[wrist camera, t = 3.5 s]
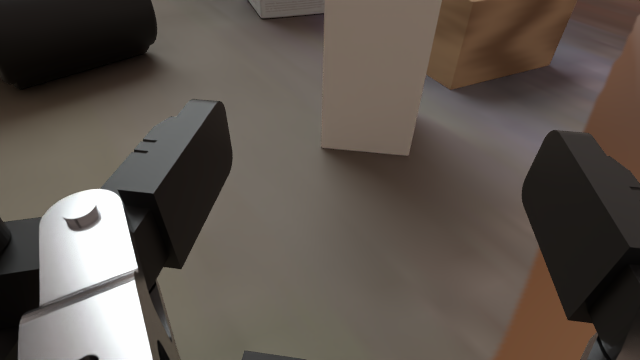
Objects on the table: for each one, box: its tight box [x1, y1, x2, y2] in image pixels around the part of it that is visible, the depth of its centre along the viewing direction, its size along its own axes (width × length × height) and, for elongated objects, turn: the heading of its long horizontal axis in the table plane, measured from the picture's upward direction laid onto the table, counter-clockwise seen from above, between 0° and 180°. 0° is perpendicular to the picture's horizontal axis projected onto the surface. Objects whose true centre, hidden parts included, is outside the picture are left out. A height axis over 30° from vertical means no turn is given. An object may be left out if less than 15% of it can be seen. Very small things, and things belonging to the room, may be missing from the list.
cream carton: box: [321, 0, 442, 156], centre depth 19 cm, size 5×5×12 cm
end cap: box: [0, 0, 157, 89], centre depth 26 cm, size 10×7×7 cm
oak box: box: [426, 0, 577, 90], centre depth 30 cm, size 10×10×6 cm
